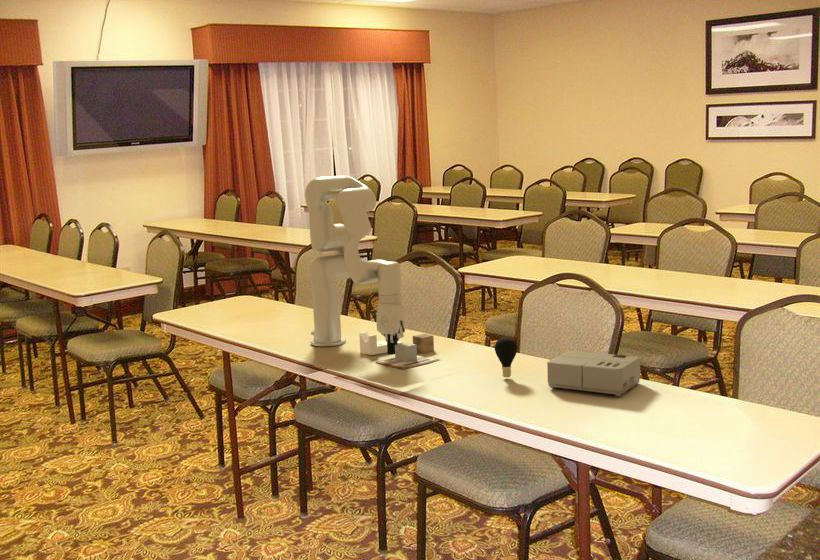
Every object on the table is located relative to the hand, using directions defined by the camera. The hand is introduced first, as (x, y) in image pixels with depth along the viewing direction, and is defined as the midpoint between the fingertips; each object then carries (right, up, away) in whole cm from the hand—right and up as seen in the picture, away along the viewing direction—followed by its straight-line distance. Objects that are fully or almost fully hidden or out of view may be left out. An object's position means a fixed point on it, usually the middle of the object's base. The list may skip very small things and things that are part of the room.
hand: (392, 353), depth 288 cm
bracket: (-4, -1, +10) cm, 11 cm away
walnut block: (+10, 0, +7) cm, 12 cm away
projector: (+58, -6, -42) cm, 72 cm away
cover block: (+4, -2, -5) cm, 7 cm away
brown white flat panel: (+5, -2, -6) cm, 8 cm away
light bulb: (+34, -5, -30) cm, 46 cm away
